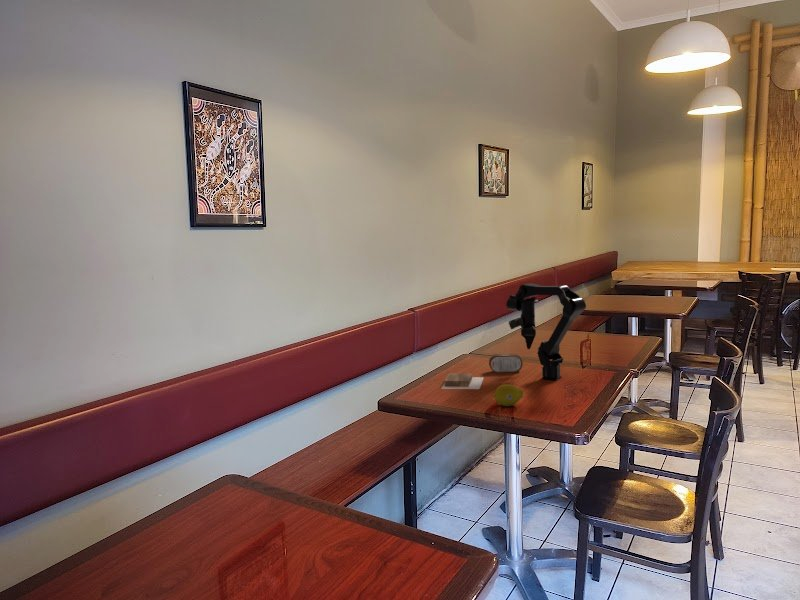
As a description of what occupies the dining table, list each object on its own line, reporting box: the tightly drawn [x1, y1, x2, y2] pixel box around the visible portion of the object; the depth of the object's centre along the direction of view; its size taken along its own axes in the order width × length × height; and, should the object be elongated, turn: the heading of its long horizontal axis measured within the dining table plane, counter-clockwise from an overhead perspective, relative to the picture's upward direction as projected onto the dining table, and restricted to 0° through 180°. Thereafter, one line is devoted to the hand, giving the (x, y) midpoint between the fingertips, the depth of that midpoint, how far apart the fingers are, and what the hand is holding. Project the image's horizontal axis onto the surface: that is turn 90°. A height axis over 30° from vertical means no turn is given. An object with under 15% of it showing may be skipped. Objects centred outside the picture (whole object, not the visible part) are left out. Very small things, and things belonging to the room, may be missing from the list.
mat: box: [440, 376, 484, 390], centre depth 247 cm, size 16×18×1 cm
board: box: [444, 372, 473, 387], centre depth 247 cm, size 2×12×10 cm
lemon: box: [492, 383, 524, 407], centre depth 213 cm, size 11×8×8 cm
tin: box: [488, 353, 524, 373], centre depth 261 cm, size 15×3×8 cm, turn 84°
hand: (528, 346), depth 256 cm, fingers open, 9 cm apart
